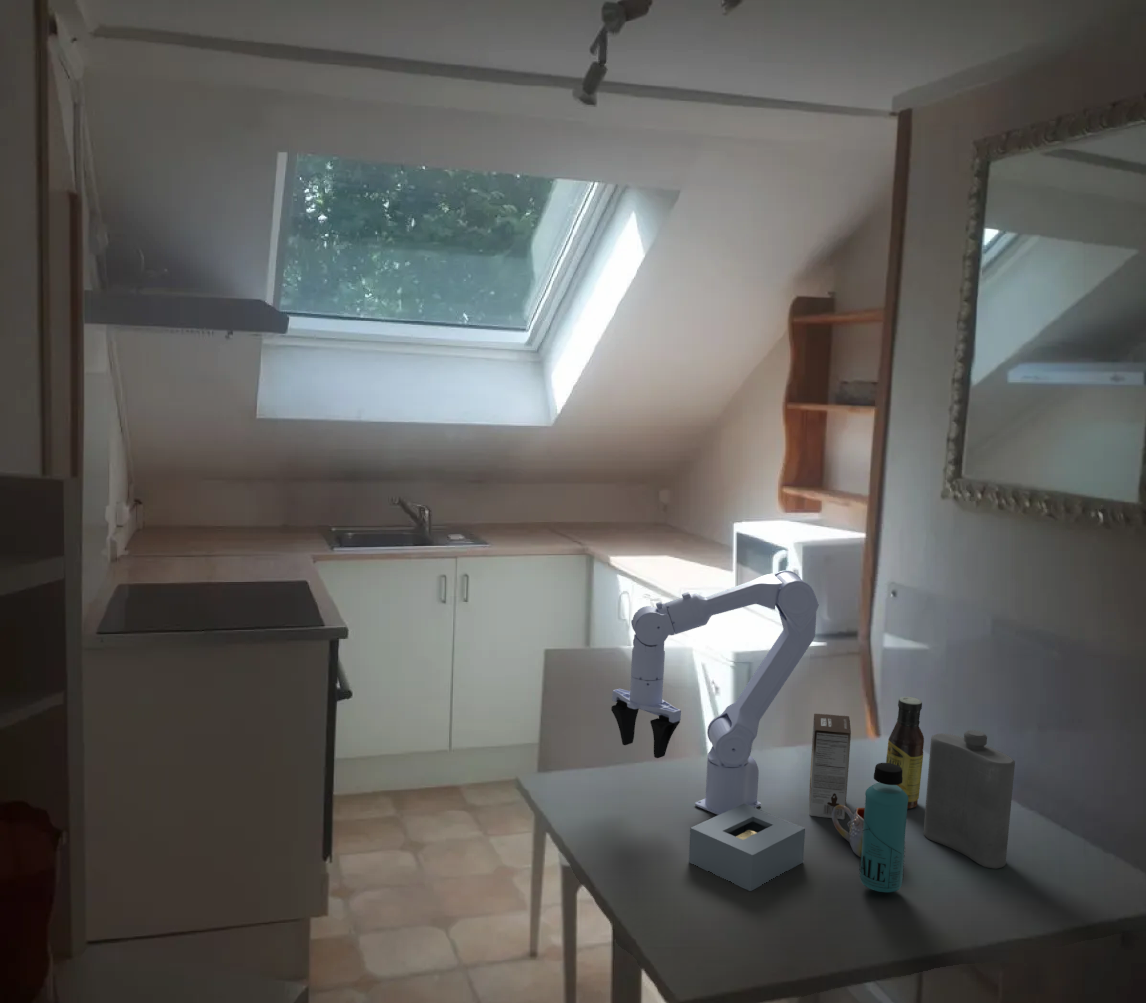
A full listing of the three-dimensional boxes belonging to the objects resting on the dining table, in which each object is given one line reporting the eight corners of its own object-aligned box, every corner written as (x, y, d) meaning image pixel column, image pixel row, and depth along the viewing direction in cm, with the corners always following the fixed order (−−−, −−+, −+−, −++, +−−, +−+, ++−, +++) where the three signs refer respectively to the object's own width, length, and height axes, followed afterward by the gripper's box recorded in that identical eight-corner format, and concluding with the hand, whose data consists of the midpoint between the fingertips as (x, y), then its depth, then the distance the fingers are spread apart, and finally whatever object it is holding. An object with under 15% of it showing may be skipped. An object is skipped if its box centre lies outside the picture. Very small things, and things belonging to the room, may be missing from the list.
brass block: (748, 853, 168) (749, 829, 167) (758, 857, 166) (759, 833, 166) (733, 861, 165) (734, 837, 164) (743, 865, 164) (745, 841, 163)
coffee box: (807, 795, 192) (813, 712, 190) (843, 799, 191) (849, 715, 189) (808, 816, 183) (814, 729, 181) (846, 820, 182) (852, 732, 180)
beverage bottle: (902, 885, 160) (912, 761, 157) (901, 906, 153) (911, 777, 151) (859, 877, 162) (867, 754, 159) (855, 898, 156) (865, 770, 153)
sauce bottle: (877, 796, 193) (885, 693, 190) (910, 796, 193) (918, 693, 190) (891, 811, 186) (899, 704, 183) (924, 811, 187) (933, 705, 184)
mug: (901, 858, 169) (905, 819, 168) (872, 867, 165) (875, 827, 165) (847, 828, 179) (850, 791, 178) (818, 836, 176) (821, 798, 175)
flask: (1015, 863, 168) (1026, 745, 165) (992, 872, 165) (1003, 751, 162) (939, 827, 181) (949, 716, 178) (917, 834, 178) (926, 721, 175)
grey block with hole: (742, 836, 175) (744, 803, 174) (803, 862, 166) (805, 828, 165) (688, 862, 165) (690, 827, 164) (750, 891, 156) (752, 855, 156)
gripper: (601, 669, 185) (598, 743, 186) (663, 690, 174) (659, 768, 176) (628, 662, 189) (625, 734, 191) (690, 682, 179) (686, 758, 181)
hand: (643, 750), depth 184 cm, fingers open, 7 cm apart
